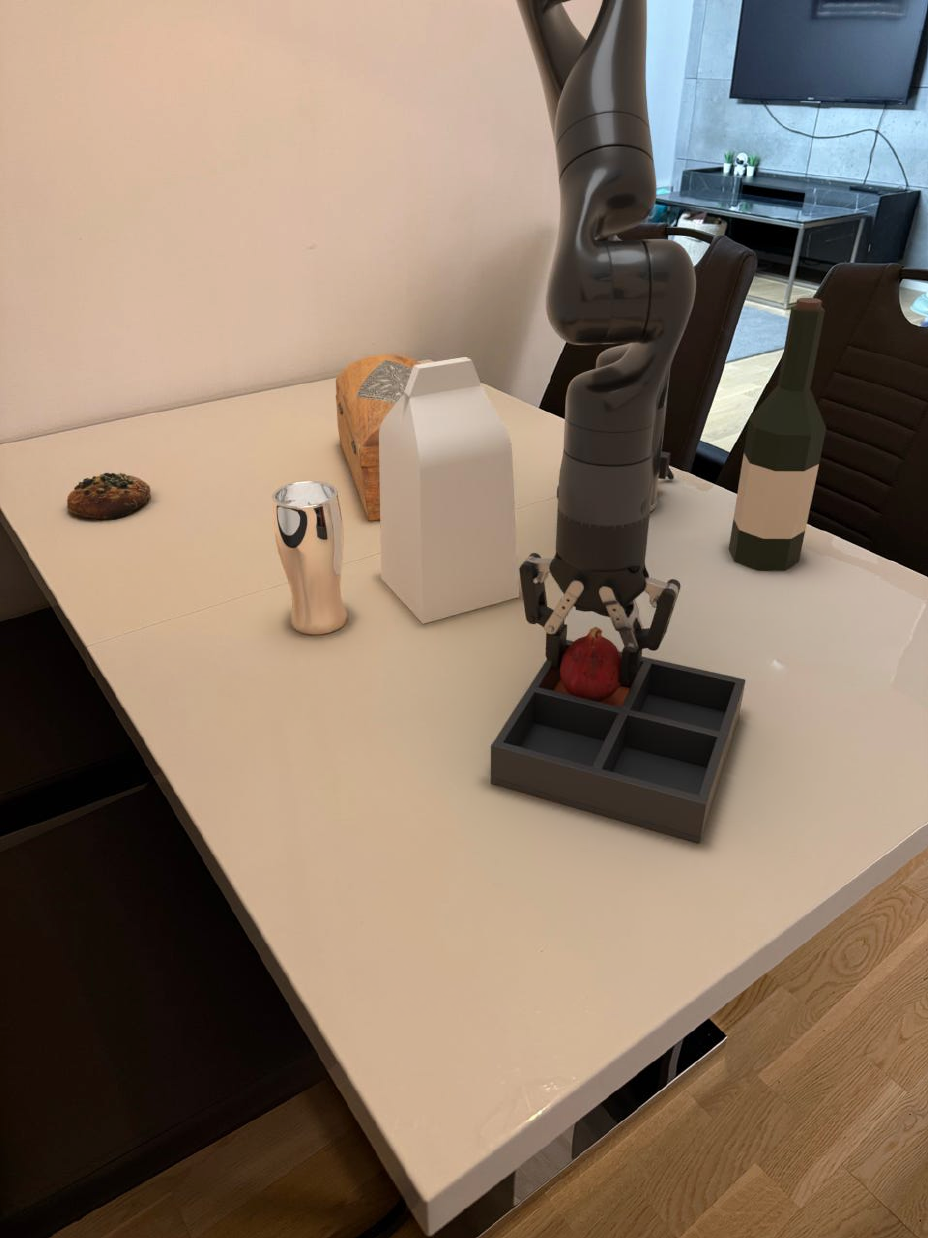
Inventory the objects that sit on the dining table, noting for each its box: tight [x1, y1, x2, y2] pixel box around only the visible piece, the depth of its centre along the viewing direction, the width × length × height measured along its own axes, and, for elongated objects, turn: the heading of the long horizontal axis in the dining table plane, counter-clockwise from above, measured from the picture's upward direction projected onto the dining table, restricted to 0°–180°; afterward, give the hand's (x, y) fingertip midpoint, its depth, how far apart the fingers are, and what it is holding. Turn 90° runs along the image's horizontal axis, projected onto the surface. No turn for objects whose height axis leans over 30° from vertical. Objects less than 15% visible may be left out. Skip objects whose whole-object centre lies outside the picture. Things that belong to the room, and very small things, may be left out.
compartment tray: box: [490, 639, 746, 844], centre depth 80 cm, size 18×18×4 cm
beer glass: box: [271, 480, 348, 636], centre depth 96 cm, size 7×7×15 cm
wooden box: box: [335, 354, 422, 522], centre depth 131 cm, size 30×16×14 cm, turn 12°
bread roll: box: [66, 472, 151, 521], centre depth 126 cm, size 11×11×5 cm
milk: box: [379, 356, 520, 625], centre depth 99 cm, size 12×12×26 cm
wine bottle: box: [728, 297, 827, 572], centre depth 103 cm, size 8×8×30 cm
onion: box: [560, 626, 622, 702], centre depth 83 cm, size 6×6×8 cm
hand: (591, 670), depth 83 cm, fingers closed on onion, 5 cm apart
